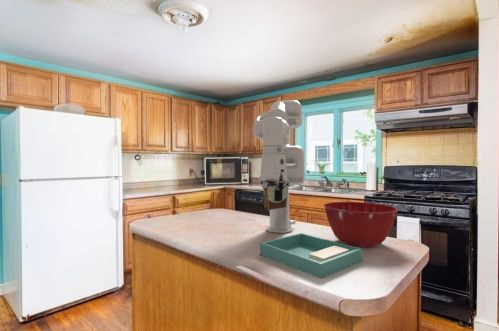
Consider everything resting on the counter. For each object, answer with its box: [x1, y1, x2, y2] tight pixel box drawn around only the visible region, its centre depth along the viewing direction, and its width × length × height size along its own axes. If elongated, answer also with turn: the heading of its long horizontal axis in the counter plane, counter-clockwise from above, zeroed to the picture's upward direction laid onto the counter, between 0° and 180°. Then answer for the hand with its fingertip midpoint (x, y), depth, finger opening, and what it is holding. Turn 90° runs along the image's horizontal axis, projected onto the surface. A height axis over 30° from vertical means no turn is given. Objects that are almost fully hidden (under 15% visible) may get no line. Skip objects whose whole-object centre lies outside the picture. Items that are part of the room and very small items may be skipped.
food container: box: [261, 181, 291, 211], centre depth 105 cm, size 12×6×10 cm, turn 130°
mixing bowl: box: [323, 201, 399, 249], centre depth 117 cm, size 28×28×15 cm
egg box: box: [308, 246, 349, 262], centre depth 90 cm, size 14×6×4 cm, turn 129°
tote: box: [259, 232, 363, 279], centre depth 97 cm, size 22×26×5 cm
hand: (272, 199), depth 105 cm, fingers closed on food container, 5 cm apart
